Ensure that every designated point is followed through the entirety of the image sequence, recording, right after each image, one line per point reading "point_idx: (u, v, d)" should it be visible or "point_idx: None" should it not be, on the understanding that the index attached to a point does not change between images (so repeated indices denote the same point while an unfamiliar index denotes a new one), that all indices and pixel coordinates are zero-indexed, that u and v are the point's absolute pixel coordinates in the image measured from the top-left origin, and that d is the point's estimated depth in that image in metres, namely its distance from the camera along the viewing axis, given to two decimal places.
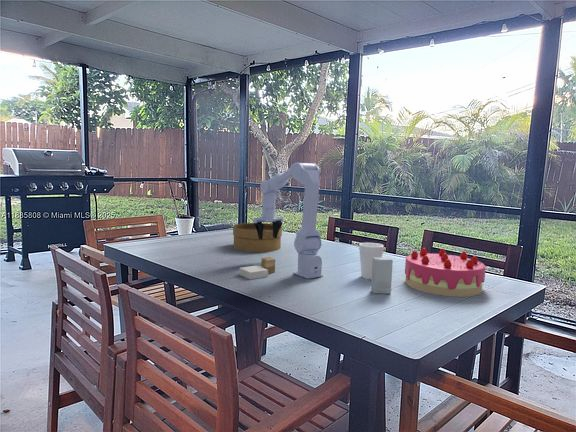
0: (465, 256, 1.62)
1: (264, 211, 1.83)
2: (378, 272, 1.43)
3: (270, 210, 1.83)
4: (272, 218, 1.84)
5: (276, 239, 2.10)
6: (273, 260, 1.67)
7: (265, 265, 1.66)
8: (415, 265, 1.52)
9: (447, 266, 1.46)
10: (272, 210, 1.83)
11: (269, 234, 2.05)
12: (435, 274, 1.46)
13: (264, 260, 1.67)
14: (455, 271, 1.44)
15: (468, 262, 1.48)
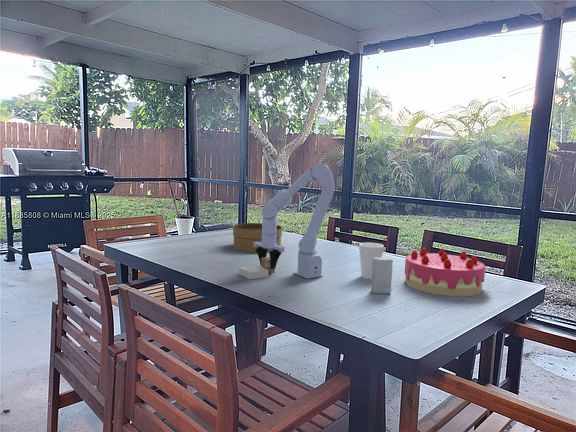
0: (465, 256, 1.62)
1: None
2: (378, 272, 1.43)
3: (263, 236, 1.65)
4: (264, 245, 1.65)
5: (276, 239, 2.10)
6: None
7: (265, 265, 1.66)
8: (415, 265, 1.52)
9: (447, 266, 1.46)
10: (264, 236, 1.65)
11: None
12: (435, 274, 1.46)
13: (264, 260, 1.67)
14: (455, 271, 1.44)
15: (468, 262, 1.48)
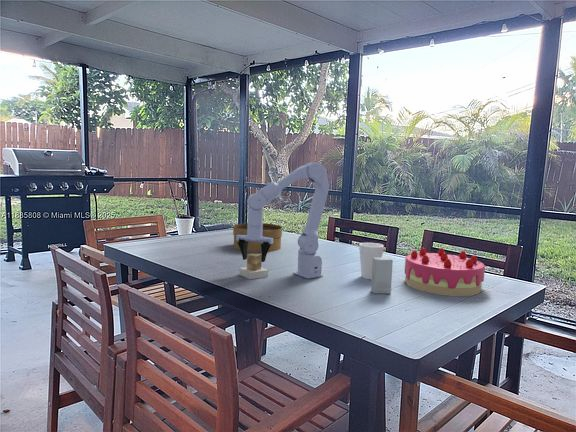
0: (464, 255, 1.63)
1: None
2: (378, 272, 1.43)
3: (250, 228, 1.58)
4: (252, 237, 1.58)
5: (276, 239, 2.10)
6: (260, 256, 1.61)
7: (253, 262, 1.59)
8: (415, 265, 1.52)
9: (447, 266, 1.47)
10: (252, 228, 1.57)
11: (269, 234, 2.05)
12: (435, 273, 1.47)
13: (252, 257, 1.59)
14: (455, 270, 1.45)
15: (468, 261, 1.48)
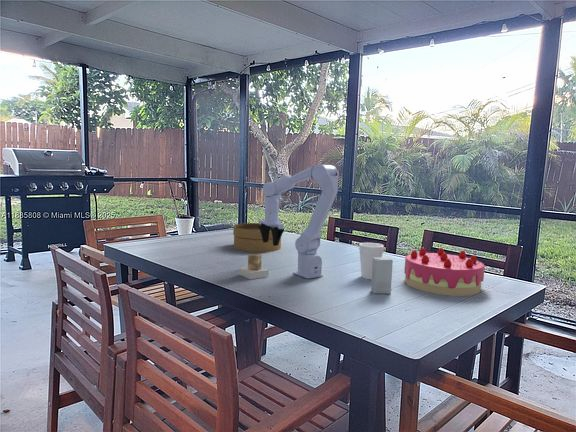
0: (464, 255, 1.63)
1: None
2: (378, 272, 1.43)
3: (265, 213, 1.73)
4: (265, 222, 1.72)
5: None
6: (260, 256, 1.62)
7: (255, 262, 1.59)
8: (415, 264, 1.52)
9: (447, 265, 1.47)
10: (266, 213, 1.72)
11: (269, 234, 2.05)
12: (436, 273, 1.47)
13: (253, 257, 1.59)
14: (455, 270, 1.45)
15: (468, 261, 1.49)
